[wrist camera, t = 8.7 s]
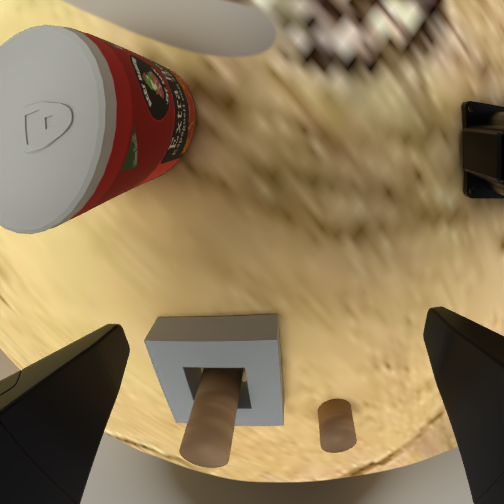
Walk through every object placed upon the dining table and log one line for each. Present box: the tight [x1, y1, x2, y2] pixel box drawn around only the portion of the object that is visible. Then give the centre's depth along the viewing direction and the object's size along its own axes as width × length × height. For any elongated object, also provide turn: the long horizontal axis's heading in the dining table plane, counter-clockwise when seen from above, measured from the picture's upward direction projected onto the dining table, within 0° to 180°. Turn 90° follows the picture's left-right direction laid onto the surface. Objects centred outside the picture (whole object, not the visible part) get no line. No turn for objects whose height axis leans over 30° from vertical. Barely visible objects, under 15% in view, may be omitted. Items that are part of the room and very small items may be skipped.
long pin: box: [180, 368, 244, 468], centre depth 20 cm, size 3×3×9 cm
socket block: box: [144, 314, 284, 426], centre depth 23 cm, size 9×9×3 cm
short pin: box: [318, 399, 357, 453], centre depth 24 cm, size 3×3×4 cm
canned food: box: [0, 25, 195, 234], centre depth 13 cm, size 8×8×11 cm
